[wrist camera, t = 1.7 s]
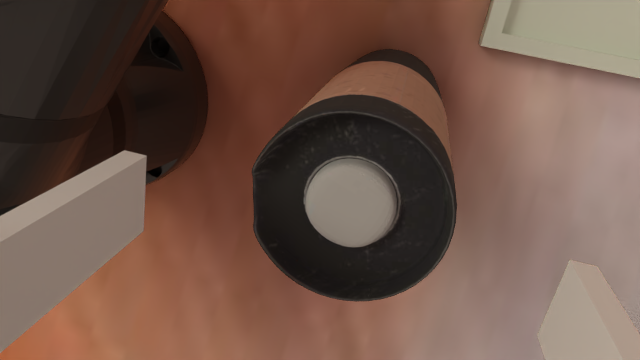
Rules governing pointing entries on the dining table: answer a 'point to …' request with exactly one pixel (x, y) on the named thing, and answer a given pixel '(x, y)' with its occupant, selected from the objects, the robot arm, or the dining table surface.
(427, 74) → the travel mug
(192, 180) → the dining table surface
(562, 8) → the tray
